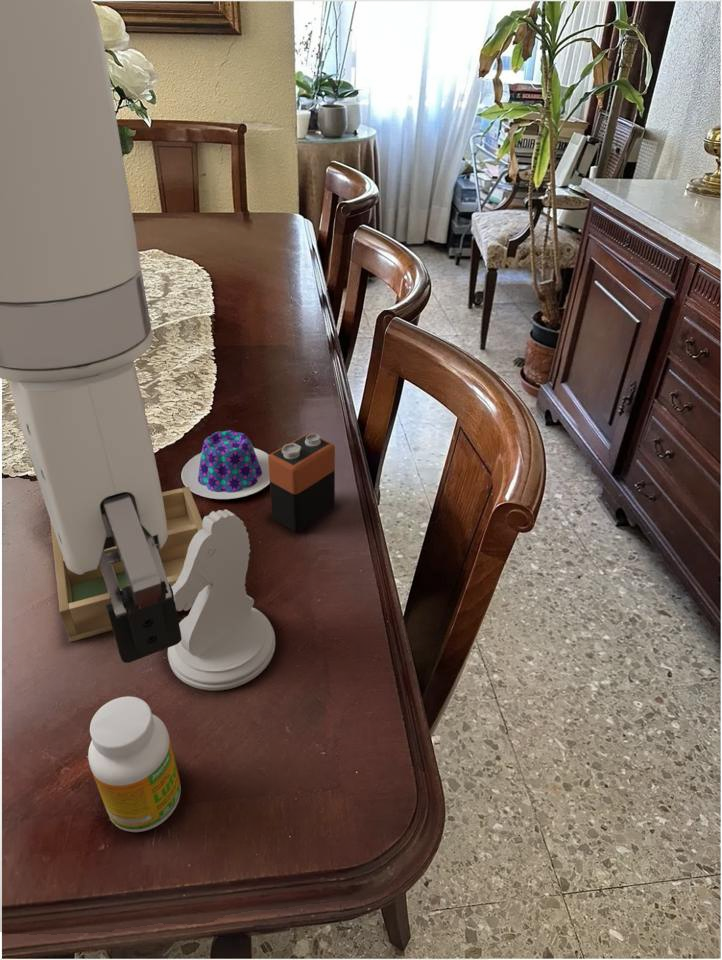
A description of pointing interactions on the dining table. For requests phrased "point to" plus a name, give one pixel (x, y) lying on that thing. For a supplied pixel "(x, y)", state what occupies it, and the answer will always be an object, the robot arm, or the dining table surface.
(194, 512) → the grid
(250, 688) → the dining table surface
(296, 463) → the battery
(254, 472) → the pudding
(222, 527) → the chess piece
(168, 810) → the supplement bottle
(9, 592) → the dining table surface
